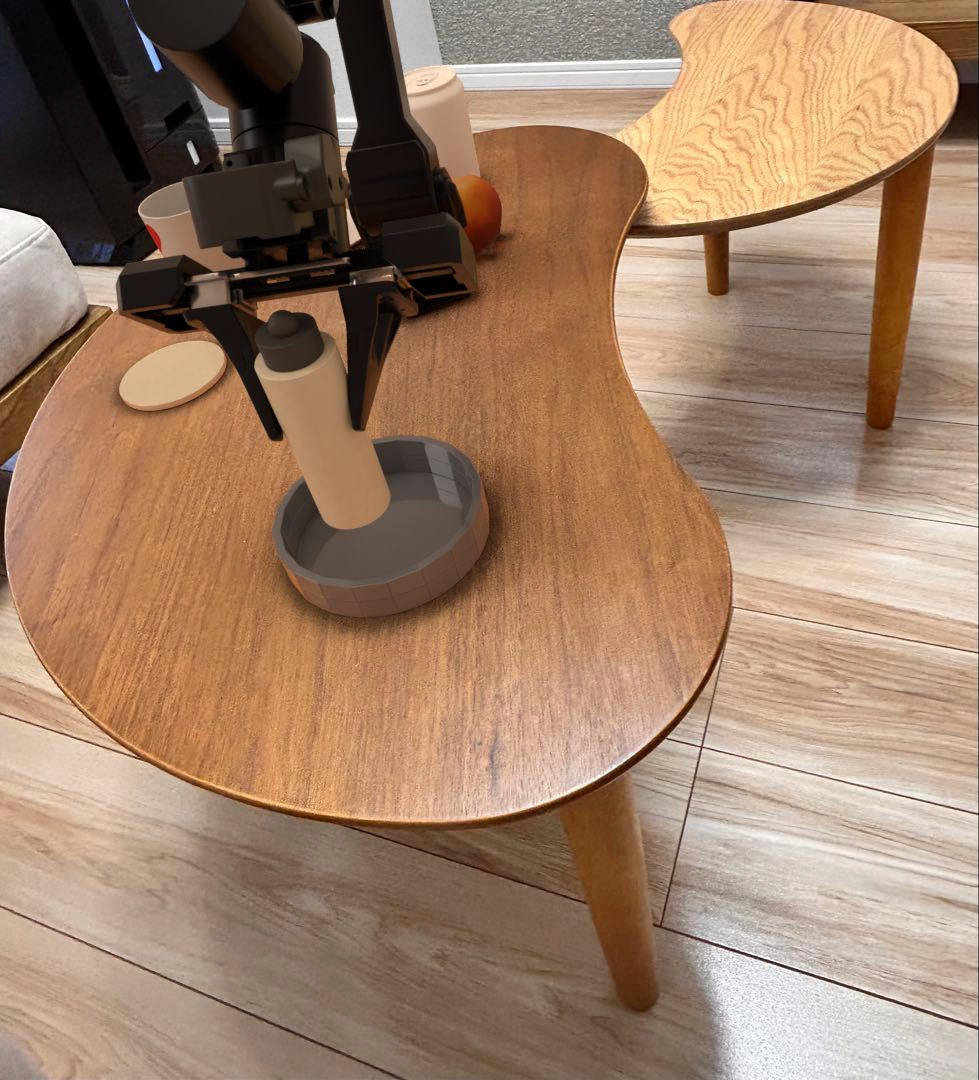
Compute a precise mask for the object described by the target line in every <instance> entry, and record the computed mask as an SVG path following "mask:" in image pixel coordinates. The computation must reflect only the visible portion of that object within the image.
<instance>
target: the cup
mask: <svg viewBox="0 0 979 1080" xmlns="http://www.w3.org/2000/svg"><path fill="white" fill-rule="evenodd" d="M137 209H138V210H137V212H138V214H139V216H140V218H141V220H142V222H143V224H144V225H145V227H146V230H147V231H148V232H149V235H150V236H151V238H152V240H153V242H154V244H155V245H156V247H157V249H158V251H159V252H160V254H161V255H162V258H164V257H171V256H177V255H183V254H185V255H186V256H188V257H190V258H192V259H193V260H195V261H197V262H198V263H200V264H202V265H204V266H205V267H207V268H209V269H210V270H212V271H214V272H216V271H222V270H228V269H235V268H241V267H243V266H242V258H235V259H232V258H230V257H229V256H227V255H226V254H224V253H223V252H222V246H219V247H213V248H207V249H200V248H199V244H198V240H197V236H196V232H195V228H194V224H193V220H192V217H191V213H190V209H189V205H188V201H187V197H186V193H185V189H184V185H183V181H180V182H175V183H172V184H170V185H168V186H165V187H163V188H160V189H158V190H156V191H155V192H153V193H152V194H150V195H149V196H147V197H145V198H144V200H142V202H140V204H139V206H138V208H137Z"/></svg>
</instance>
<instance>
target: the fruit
mask: <svg viewBox="0 0 979 1080" xmlns="http://www.w3.org/2000/svg"><path fill="white" fill-rule="evenodd" d="M452 181H453V182H454V183H455V184H456V187H457V189H458V192H459V194H460V197H461V199H462V202H463V206H464V210H465V214H466V219H467V227H465V228H464V229H463V230H464V231H465V233H466V235H467V237H468V239H469V240H470V242H471V244H472V246H473V249H474V254H475V258H478V257H480V256H485V255H491V256H493V247H494V244H495V242H496V239H497V237H500V236H501V237H504V238H505V237H507V235H506V234H504V233H501V231H502V230H501V229H502V218H503V206H502V201H501V199H500V196H499V194H498V192H497V190H496V188H495V187H494V186H493V185H492V184H491V183H490V182H488V181H487V180H485V179H484V178H483V177H478V176H475V175H466V176H460V177H457V178H454V179H452Z"/></svg>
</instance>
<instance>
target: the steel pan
mask: <svg viewBox="0 0 979 1080" xmlns="http://www.w3.org/2000/svg"><path fill="white" fill-rule="evenodd" d="M371 441H372V444H373V446H374V449H375V452H376V455H377V457H378V460H379V463H380V466H381V468H382V471H383V474H384V477H385V479H386V482H387V485H388V488H389V490H390V495H391V498H390V503H389V505H388V507H387V509H386V511H385V512H384V513H383V514H382V515H381V516H380V517H379V518H378V519H376V520H375V521H373V522H371V523H370V524H368V525H365V526H363V527H359V528H355V529H337V528H334V527H332V526H330V525H328V524H327V523H326V522H325V521H324V520H323V518H322V516H321V514H320V512H319V510H318V507H317V505H316V503H315V501H314V499H313V496H312V494H311V492H310V490H309V488H308V485H307V483H306V481H305V479H304V477H303V474H302V475H301V476H300V477H299V478H298V479H297V480H296V481H294V483H292V485H291V486H290V487H289V488H288V490H287V492H286V493H285V495H284V496H283V497H282V499H281V501H280V503H279V504H278V506H277V508H276V510H275V515H274V519H273V520H274V521H273V525H272V530H271V535H272V538H273V543H274V548H275V552H276V554H277V557H278V558H279V559H278V560H279V561H280V563H281V564H282V566H283V569H284V570H285V572H286V575H287V576H288V578H289V579H290V582H291V584H292V585H293V586H294V587H295V588H296V590H298V592H299V593H300V594H301V595H302V597H303V598H304V599H305V600H306V601H307V602H308V603H310V604H312V605H314V606H316V607H318V608H319V609H321V610H323V611H326V612H329V613H330V614H334V615H338V616H343V617H349V618H350V617H351V618H363V619H364V618H365V619H367V618H376V617H386V616H391V615H395V614H400V613H404V612H406V611H410V610H412V609H415V608H417V607H420V606H422V605H424V604H427V603H429V602H431V601H433V600H434V599H437V598H438V597H440V596H442V595H443V594H444V593H446V592H447V591H449V590H450V589H451V588H452V587H454V586H455V585H457V583H459V582H461V580H462V579H463V578H464V577H465V576H466V575H467V574H468V573H469V572H470V571H471V569H473V567H474V565H475V564H476V563H477V561H478V560H479V559H480V557H481V556H482V552H483V551H484V549H485V546H486V543H487V540H488V537H489V534H490V509H489V505H488V504H489V503H488V499H487V496H486V492H485V489H484V485H483V482H482V477H481V476H480V474H479V472H478V470H477V468H476V466H475V464H474V463H473V461H472V459H471V458H470V457H469V456H467V454H465V453H464V452H462V451H461V450H459V448H457V447H455V446H454V445H453V444H451V443H449V442H445V441H442V440H439V439H436V438H433V437H430V436H424V435H405V434H404V435H403V434H396V435H395V434H394V435H389V436H382V437H376V438H371Z"/></svg>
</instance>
